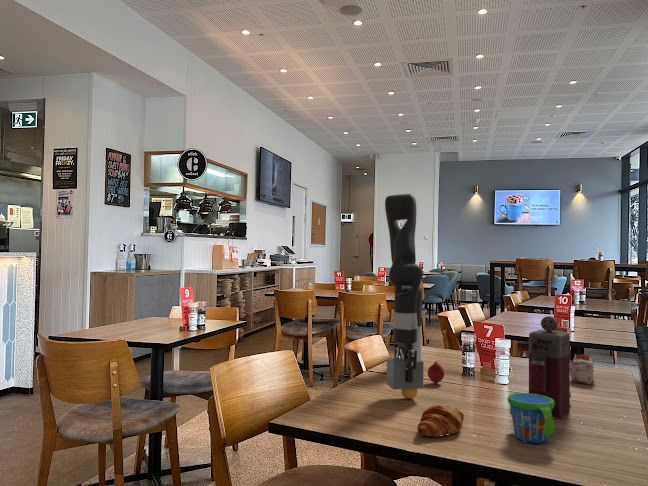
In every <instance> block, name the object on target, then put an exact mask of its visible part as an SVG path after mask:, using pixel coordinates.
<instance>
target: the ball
mask: <svg viewBox="0 0 648 486" xmlns="http://www.w3.org/2000/svg"><path fill="white" fill-rule="evenodd" d="M400 391H401V395H402V396H403V398H404V399H406V398H413V399H414V398H415V397H416V396H417V395H418V389H400Z"/></svg>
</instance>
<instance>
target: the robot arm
mask: <svg viewBox="0 0 648 486" xmlns="http://www.w3.org/2000/svg"><path fill="white" fill-rule="evenodd" d="M384 208H385V209H384V210H385V211H384V212H385V216H386V221H387V228H388V233H389V245H390V255H391V256H390V258H391V266H390V269H389V273H388V279H389V282H390V283H391V284H392V285H393V286H394V301H393V302H394V308H393V309H394V310H393V311H394V314H393V322H392V323H393V330H392V331H393V332H392V333H393V335H392V336H393V337H392V340H393V341H394V344H393V353H394V355H393V356H394V357H393V358H397V359H402V361H403V362H404V363H405V382H407V383H410V382H412V381H413V370H414V369H416V362H417V359H419V360H421V361H422V310H423V308H422V306H423V289H422V287H421V283H422V281H423V276H424V275H423V274H424V271H423V269H422V267H421V266H420V265H419V264H416V261H417V258H416V242H415V241H416V240H415V237H416V225H417V201H416V197H415V195H414V194H412V193H404V194H403V193H401V194H392V195H391V194H390V195H387V196H386V198H385V200H384ZM397 221H405V223H404V224H403V226H402V227H401V228H400V226H399V224H398V222H397ZM407 362H408V365H407ZM413 362H414V364H413ZM410 363H411V365H410Z"/></svg>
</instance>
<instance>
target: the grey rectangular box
mask: <svg viewBox="0 0 648 486" xmlns="http://www.w3.org/2000/svg"><path fill="white" fill-rule="evenodd" d="M413 364H414V362H413ZM407 365H408V362H407ZM410 365H411V363H410ZM386 385H387V386H388V387H389V388H391V389H392V390H393V391H394V390H395V391H396V390H401V389H417V390H418V389H424V360H422V359H421V360H419V359H417V362H416V369H414V370H413V381H412V382H410V383H407V382H405V363H404V362H403V361H402V359H397V358H394V357H393V358H386Z"/></svg>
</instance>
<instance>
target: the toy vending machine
mask: <svg viewBox="0 0 648 486" xmlns="http://www.w3.org/2000/svg"><path fill="white" fill-rule="evenodd" d="M558 323H559V322H558V320H557V319H556V317H554V316H551V315H550V316H549V315H548V316H543V317H542V319H541V321H540V327H541V328H542V329H537V330H534V331H532V332H529V334H528V393H531V394H538V395H543V396H547V397H549V398H551V399H553V401H554V402H555V405H554V407H553V409H552V413H551V414H552V418H553V417H554V419H557V418H558V420H561V418H562V419H563V418H564V417H565V415H566V416H567V415H569V413H570V407H571V406H570V403H571V402H570V401H571V400H570V399H571V397H570V393H571V391H570V387H571V385H570V381H571V380H570V378H571V376H570V361H571V359H570V357H571V356H570V354H571V353H570V352H571V351H570V347H571V346H570V343H571V342H570V339H571V338H570V333H569V332H567V331H559V330H556V329H557V328H558V326H559V324H558Z"/></svg>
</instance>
